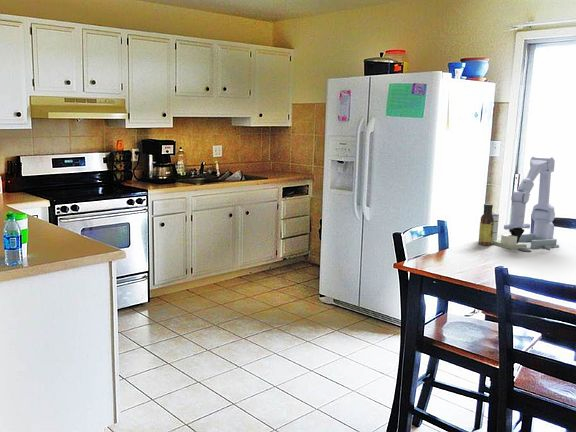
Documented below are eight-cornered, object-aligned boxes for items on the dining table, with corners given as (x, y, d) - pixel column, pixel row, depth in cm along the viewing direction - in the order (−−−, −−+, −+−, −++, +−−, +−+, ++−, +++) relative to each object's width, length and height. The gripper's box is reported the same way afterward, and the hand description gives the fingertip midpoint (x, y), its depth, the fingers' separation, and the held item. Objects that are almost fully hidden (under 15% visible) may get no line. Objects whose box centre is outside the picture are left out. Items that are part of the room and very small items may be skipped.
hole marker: (524, 248, 260) (524, 248, 260) (534, 251, 254) (534, 251, 254) (514, 249, 258) (514, 249, 258) (524, 252, 252) (524, 251, 252)
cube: (508, 244, 268) (509, 234, 268) (516, 246, 264) (517, 236, 263) (500, 245, 267) (501, 234, 266) (508, 247, 262) (509, 237, 261)
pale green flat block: (509, 242, 272) (509, 239, 272) (526, 247, 262) (526, 244, 262) (492, 243, 269) (492, 240, 268) (509, 248, 258) (509, 245, 258)
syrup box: (497, 242, 272) (500, 213, 269) (485, 242, 272) (487, 213, 269) (493, 240, 277) (495, 212, 275) (481, 239, 277) (484, 211, 275)
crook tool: (557, 246, 266) (557, 244, 266) (564, 248, 263) (564, 246, 263) (541, 247, 263) (542, 245, 263) (548, 249, 259) (548, 247, 259)
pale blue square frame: (532, 240, 280) (533, 233, 280) (555, 246, 267) (556, 239, 267) (510, 241, 275) (510, 234, 274) (532, 248, 262) (533, 241, 261)
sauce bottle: (492, 246, 262) (496, 205, 259) (479, 245, 263) (482, 204, 260) (490, 243, 269) (494, 203, 265) (477, 242, 270) (481, 203, 266)
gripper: (512, 217, 258) (509, 245, 260) (536, 216, 263) (533, 244, 266) (501, 215, 264) (499, 242, 267) (524, 214, 270) (521, 241, 272)
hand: (515, 243), depth 267 cm, fingers closed
